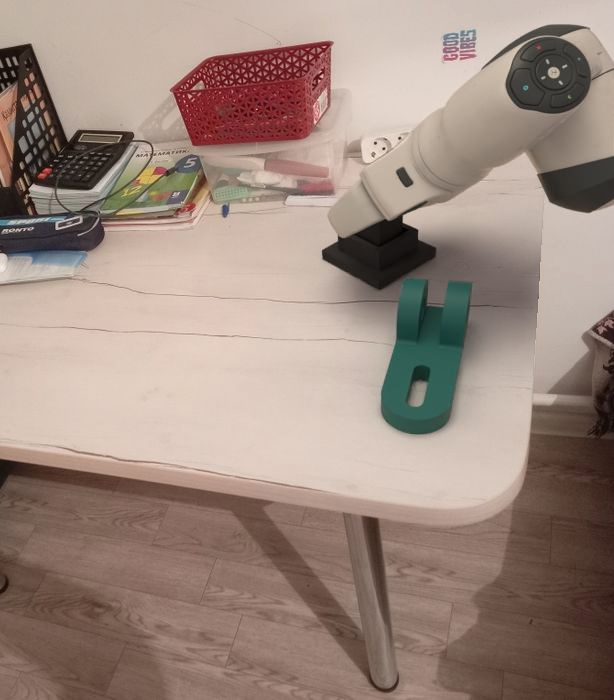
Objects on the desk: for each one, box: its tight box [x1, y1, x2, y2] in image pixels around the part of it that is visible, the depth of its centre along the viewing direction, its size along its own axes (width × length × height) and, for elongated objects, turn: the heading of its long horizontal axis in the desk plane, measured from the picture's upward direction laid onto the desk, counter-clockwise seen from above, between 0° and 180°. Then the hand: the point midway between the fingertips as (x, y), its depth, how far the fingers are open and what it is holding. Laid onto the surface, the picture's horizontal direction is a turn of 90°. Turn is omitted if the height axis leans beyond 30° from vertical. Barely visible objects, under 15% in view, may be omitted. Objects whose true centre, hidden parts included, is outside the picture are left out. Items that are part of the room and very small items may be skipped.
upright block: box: [353, 215, 404, 247], centre depth 82 cm, size 5×4×9 cm
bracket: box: [380, 277, 473, 435], centre depth 66 cm, size 18×7×8 cm, turn 152°
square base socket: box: [321, 222, 437, 291], centre depth 85 cm, size 11×10×4 cm
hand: (373, 209), depth 81 cm, fingers open, 8 cm apart
